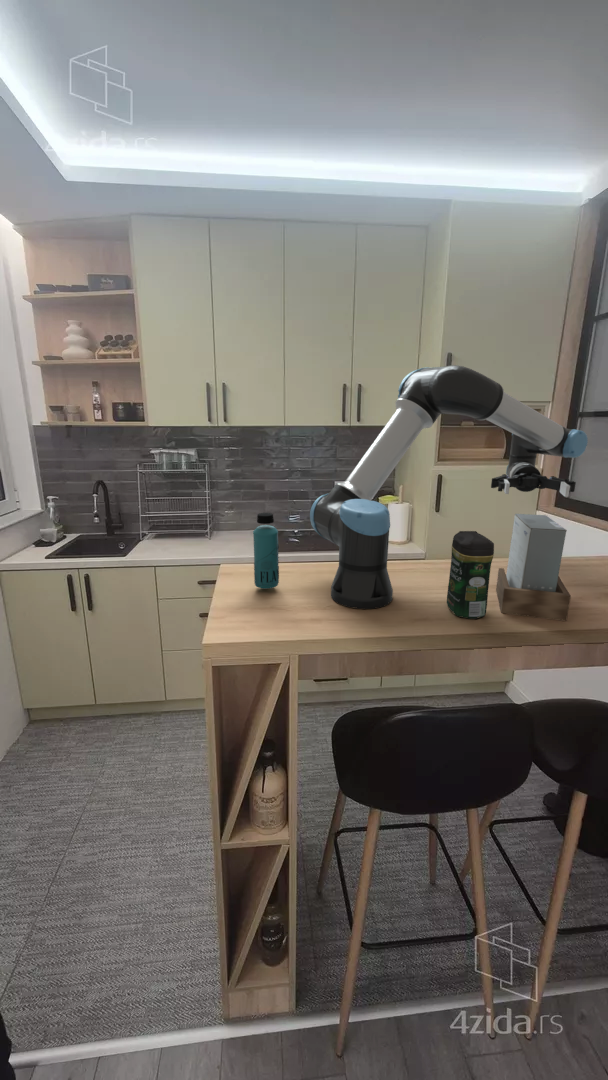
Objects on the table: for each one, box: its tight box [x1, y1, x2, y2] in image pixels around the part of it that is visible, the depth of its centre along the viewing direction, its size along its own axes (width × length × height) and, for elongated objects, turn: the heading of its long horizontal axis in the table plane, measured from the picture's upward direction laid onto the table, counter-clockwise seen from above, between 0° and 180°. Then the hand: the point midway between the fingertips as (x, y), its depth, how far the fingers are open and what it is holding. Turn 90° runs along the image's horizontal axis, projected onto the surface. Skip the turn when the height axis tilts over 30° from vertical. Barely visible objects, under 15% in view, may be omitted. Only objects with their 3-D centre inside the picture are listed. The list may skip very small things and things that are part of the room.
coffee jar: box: [446, 530, 495, 620], centre depth 104 cm, size 10×8×19 cm
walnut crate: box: [495, 567, 572, 622], centre depth 109 cm, size 13×14×6 cm
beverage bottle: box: [252, 512, 280, 590], centre depth 115 cm, size 6×7×20 cm
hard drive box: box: [505, 513, 567, 592], centre depth 110 cm, size 16×8×20 cm, turn 168°
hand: (537, 490), depth 115 cm, fingers open, 13 cm apart
